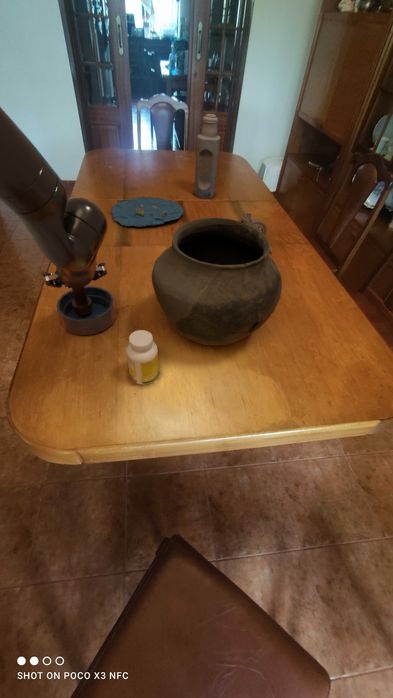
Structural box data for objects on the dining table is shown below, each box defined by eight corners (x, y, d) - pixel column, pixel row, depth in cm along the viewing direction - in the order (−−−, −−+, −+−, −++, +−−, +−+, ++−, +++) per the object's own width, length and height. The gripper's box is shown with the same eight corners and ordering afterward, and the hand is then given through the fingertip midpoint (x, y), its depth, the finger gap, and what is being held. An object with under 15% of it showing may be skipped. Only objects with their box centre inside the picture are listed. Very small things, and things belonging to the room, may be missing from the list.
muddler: (75, 317, 80) (65, 280, 72) (72, 306, 83) (62, 269, 75) (95, 312, 81) (87, 276, 74) (90, 302, 84) (82, 265, 76)
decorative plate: (93, 220, 124) (90, 206, 120) (139, 195, 142) (138, 183, 138) (156, 239, 114) (155, 225, 110) (197, 210, 132) (197, 197, 129)
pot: (250, 390, 70) (279, 301, 52) (132, 339, 79) (121, 247, 61) (286, 316, 89) (316, 232, 71) (187, 282, 97) (191, 198, 79)
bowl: (67, 343, 76) (61, 326, 72) (58, 309, 85) (52, 292, 81) (122, 329, 81) (120, 312, 77) (108, 298, 89) (105, 281, 85)
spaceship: (257, 246, 99) (282, 236, 98) (232, 210, 125) (251, 202, 124) (262, 267, 104) (285, 258, 104) (237, 228, 131) (255, 221, 130)
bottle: (191, 196, 143) (196, 115, 121) (196, 189, 150) (201, 111, 128) (212, 200, 142) (220, 118, 120) (216, 192, 149) (224, 113, 127)
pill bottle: (164, 371, 72) (164, 335, 64) (146, 390, 68) (143, 354, 60) (141, 359, 74) (138, 322, 66) (123, 377, 70) (117, 340, 62)
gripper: (106, 240, 64) (100, 262, 80) (31, 251, 60) (41, 273, 76) (116, 276, 65) (108, 291, 81) (43, 290, 60) (50, 303, 76)
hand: (76, 282), depth 78 cm, fingers closed on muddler, 3 cm apart
